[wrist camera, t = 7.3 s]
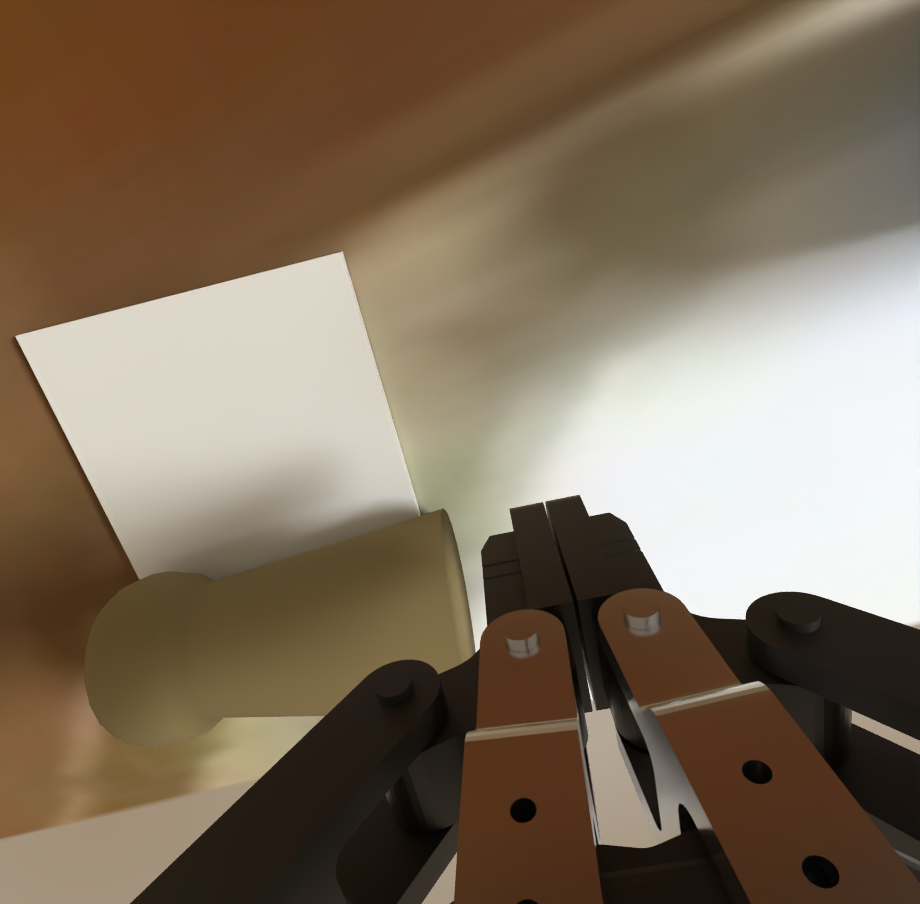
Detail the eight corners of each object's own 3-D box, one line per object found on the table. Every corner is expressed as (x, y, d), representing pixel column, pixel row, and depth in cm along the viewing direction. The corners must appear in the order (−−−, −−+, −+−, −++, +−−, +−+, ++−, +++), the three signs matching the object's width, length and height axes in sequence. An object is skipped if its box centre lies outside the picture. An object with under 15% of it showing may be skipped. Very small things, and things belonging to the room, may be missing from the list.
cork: (445, 485, 21) (139, 540, 22) (435, 552, 15) (15, 626, 16) (477, 642, 22) (188, 690, 23) (479, 761, 16) (90, 821, 17)
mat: (23, 333, 18) (15, 335, 18) (342, 251, 18) (340, 252, 17) (182, 648, 23) (177, 655, 22) (443, 592, 22) (443, 599, 22)
